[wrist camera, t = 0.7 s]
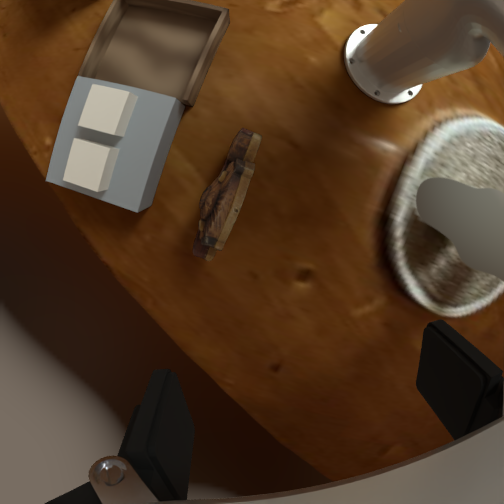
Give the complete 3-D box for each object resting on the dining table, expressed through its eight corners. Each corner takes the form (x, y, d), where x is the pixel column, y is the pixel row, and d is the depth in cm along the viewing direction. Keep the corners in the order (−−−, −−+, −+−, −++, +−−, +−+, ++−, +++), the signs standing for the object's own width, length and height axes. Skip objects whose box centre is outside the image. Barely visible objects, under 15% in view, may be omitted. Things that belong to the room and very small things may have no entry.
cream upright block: (85, 139, 33) (74, 138, 30) (119, 149, 33) (109, 148, 30) (74, 178, 34) (62, 180, 31) (107, 189, 35) (97, 191, 32)
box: (128, 3, 33) (118, -9, 28) (229, 22, 35) (228, 8, 30) (91, 81, 36) (77, 75, 32) (193, 106, 38) (187, 100, 34)
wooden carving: (228, 127, 39) (223, 116, 29) (261, 137, 39) (268, 129, 30) (192, 245, 43) (178, 269, 33) (224, 254, 44) (220, 281, 34)
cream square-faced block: (103, 88, 31) (92, 83, 28) (138, 96, 32) (129, 91, 29) (89, 127, 32) (77, 125, 29) (123, 136, 33) (114, 135, 30)
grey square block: (96, 84, 36) (77, 75, 30) (185, 106, 38) (176, 98, 32) (67, 177, 40) (45, 180, 34) (151, 205, 41) (137, 212, 35)
